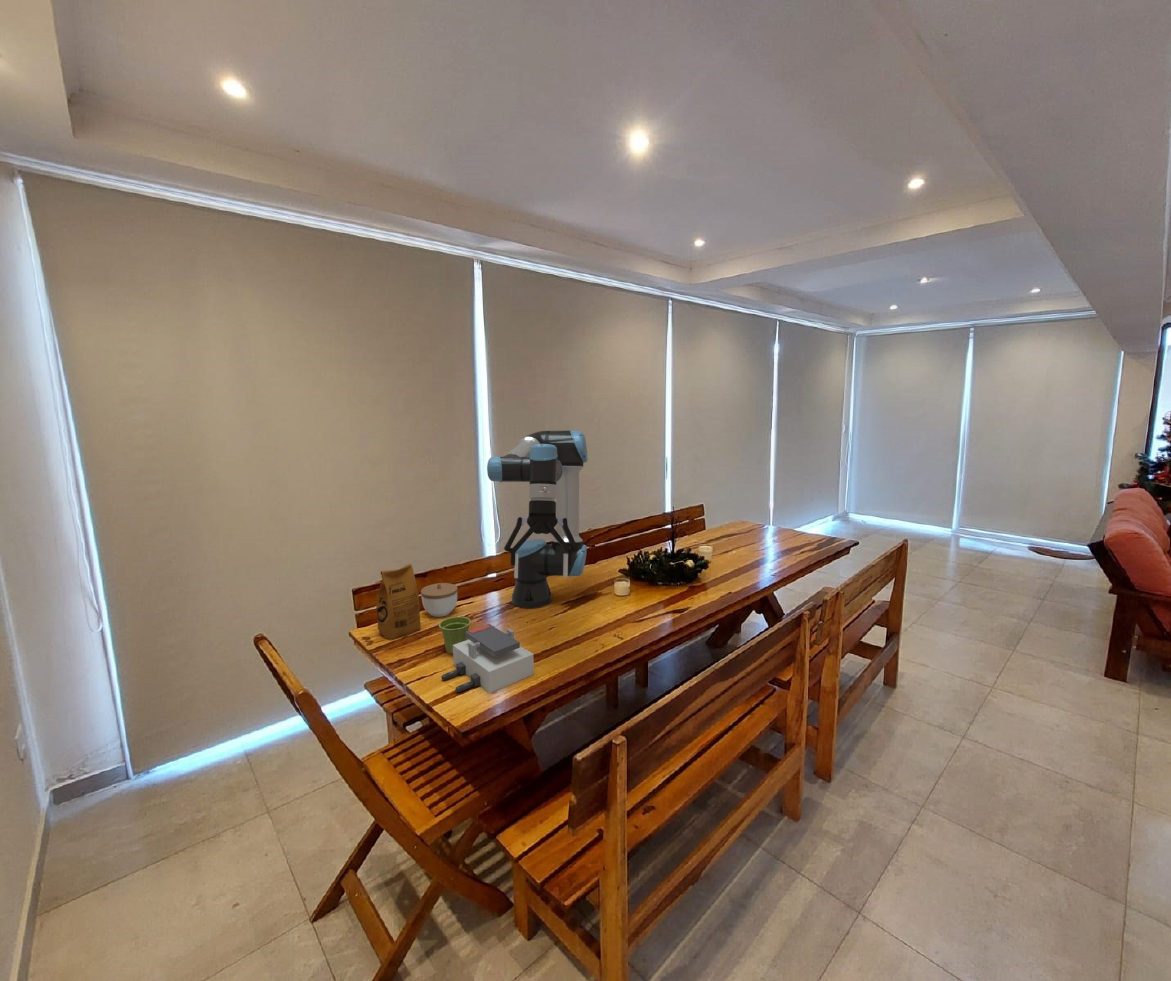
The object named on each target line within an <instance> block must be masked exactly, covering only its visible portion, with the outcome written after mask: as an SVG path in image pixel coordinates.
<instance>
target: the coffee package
mask: <svg viewBox="0 0 1171 981" xmlns="http://www.w3.org/2000/svg"><path fill="white" fill-rule="evenodd" d="M380 576H381V577H380V578H381V580H380V584H379V585H380V586H379V589H378V590H377V596H376V618H377V630H378V632H379V635H382V636H383V637H384V638H385V639H387V640H391V641H393V640H395V639H397V638H399V637H401V636H408V635H411V634H412V633H415V632H416V631H419V630H420V629H421V612H420V610H421V609H420V608H421V607H420V598H419V595H420V594H419V588H418V583H417V580H416V579H417V578H416V576H415V572H414V569H413V565H412V564H411V563H408V564H406V565H404V566H402V567H400V568H399V569H392V570H381V571H380Z"/></svg>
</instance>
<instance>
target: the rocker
mask: <svg viewBox="0 0 1171 981" xmlns="http://www.w3.org/2000/svg"><path fill="white" fill-rule="evenodd" d="M465 637H466V638H467V640H470V641H472V642H473V643H474V644H475V645H476V647H480V648H482V649H483V650H485V651H486V652H488V653H489V654H491V655H492V656H494V657H497V656H500V655H502V654H505V653H507V652H510V651H513V650H515V649H518V648H520V646H521V642H520V641H519V640H517V639H516V638H515V637H514V638H512V637H510V636H509V633H508V632H507V631H506V632H503V631H502V630H500V629H499V628H497V627H495V626H493V625H492V624H490V623H488V624H485V625H482V626H478V627H475V628H472V629H468V631H466V632H465Z"/></svg>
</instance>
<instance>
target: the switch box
mask: <svg viewBox="0 0 1171 981" xmlns="http://www.w3.org/2000/svg"><path fill="white" fill-rule="evenodd" d="M506 632H508V633H509V636H510V637H512V638H514V639H515V631H514V630H513V629H511V628H507V629H506ZM452 657H453V658H452V660H453V665H454V666H455V668H456V669H454V670H451V671H449V672H446V673H443V674H442V675H441V679H442V680H443V681H446V680H449V679H452V678H455V677H457V676H463V675H466V676H467V677H469V678H470V680H469V681H467V682H465V683H462V684H460V685H457V686H456V687H455V692H456V693H462V692H463V691H466V690H468V689H471V688H476V687H479V686H480V687H482V688H483V690H485V691H487V692H488V693H489V694H492V693H494V692H497V691H499V690H501V689H503V688H506V687H508V686H510V685H512V684H515V683H517V682H519V681H522V680H524V679H526V678H528V677H532V676H533V675H534V674H535V673H534V672H535V670H534V668H535V667H534V666H535V665H534V664H535V662H534V653H532V652H530V651H529V650H527V649H525V648H524V647H522V646H521V645H520V648H518V649H515V650H513V651H510V652H507V653H505V654H502V655H500V656H497V657H494V656H492V655H491V654H489V653H488V652H486V651H485V650H483V649H482V648H480V647H476V645H475V644H474V643H473V642H472V641H470V640H469V639H467V640H466V641H463V642H460V643H457V644H454V645H453V653H452Z"/></svg>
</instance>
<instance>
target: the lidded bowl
mask: <svg viewBox="0 0 1171 981" xmlns="http://www.w3.org/2000/svg"><path fill="white" fill-rule="evenodd" d="M420 595H421V602H422V606H423V608H424V610H425V611H426V612H427V613H428V614H429V615H430V616H431V617H434V618H442V617H446V616H448V615H450V614H451V613H452V611H453V610H454V609H455V607H456V606H457V601H458V586H457V585H456V584H454V583H449V582H440V583H432V584H429V585H426V586H424V587H422V588H421V590H420Z"/></svg>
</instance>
